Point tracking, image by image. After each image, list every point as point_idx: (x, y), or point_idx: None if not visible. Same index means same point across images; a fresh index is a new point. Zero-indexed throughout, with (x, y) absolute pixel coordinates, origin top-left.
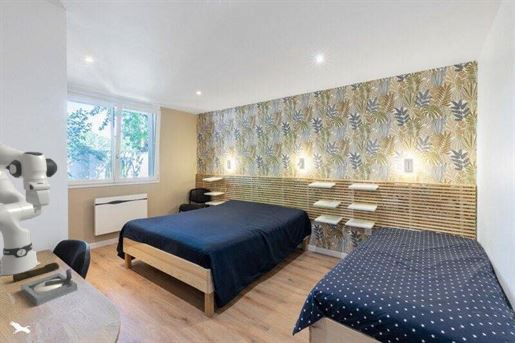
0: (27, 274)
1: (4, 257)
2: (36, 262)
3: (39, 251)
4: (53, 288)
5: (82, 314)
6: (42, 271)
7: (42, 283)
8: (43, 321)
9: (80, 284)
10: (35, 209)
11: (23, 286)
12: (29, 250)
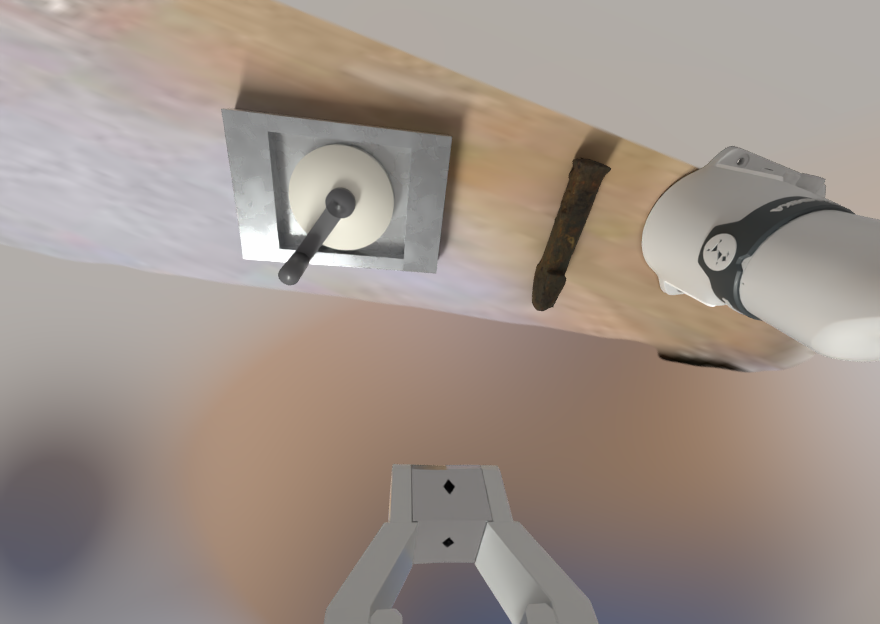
0: (564, 206)
1: (778, 192)
2: (667, 281)
3: None
4: (289, 195)
5: (4, 164)
6: (545, 254)
7: (382, 192)
8: (55, 58)
9: None
10: (483, 531)
11: (426, 137)
12: (711, 285)
